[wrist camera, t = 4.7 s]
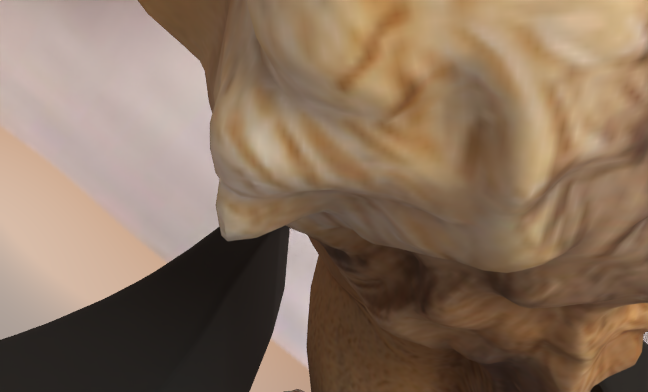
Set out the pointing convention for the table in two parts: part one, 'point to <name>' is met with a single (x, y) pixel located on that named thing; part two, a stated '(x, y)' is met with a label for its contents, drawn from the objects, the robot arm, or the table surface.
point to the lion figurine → (440, 179)
